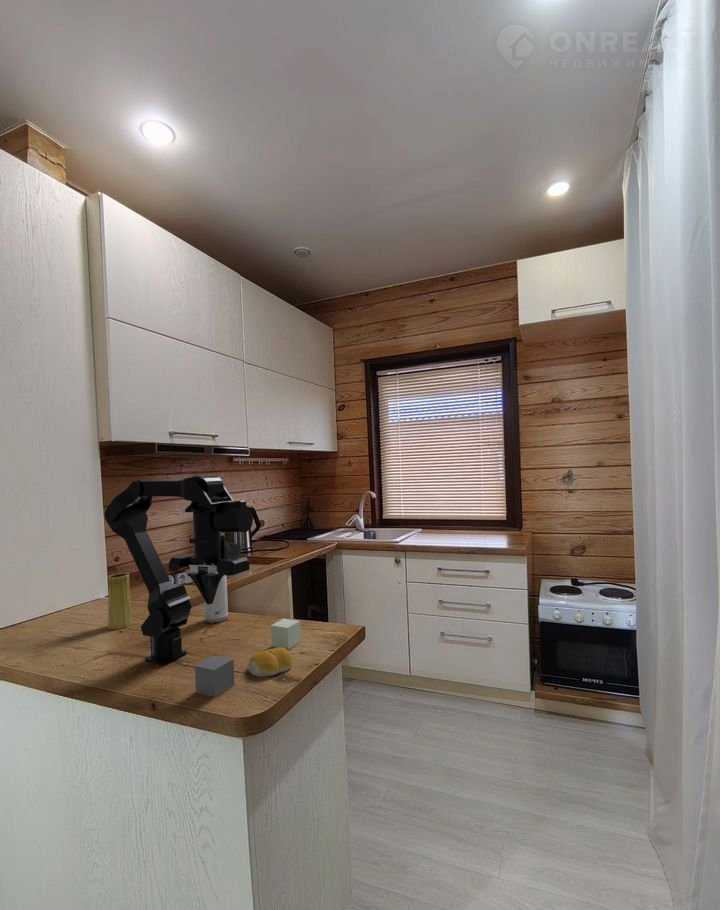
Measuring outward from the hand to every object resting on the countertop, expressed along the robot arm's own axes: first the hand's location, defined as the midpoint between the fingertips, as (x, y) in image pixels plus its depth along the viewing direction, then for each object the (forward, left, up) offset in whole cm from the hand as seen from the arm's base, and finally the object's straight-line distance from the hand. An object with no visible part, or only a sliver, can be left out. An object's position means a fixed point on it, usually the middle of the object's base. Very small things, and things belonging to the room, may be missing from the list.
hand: (209, 603), depth 96 cm
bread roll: (+14, +3, -13) cm, 19 cm away
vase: (-45, +10, -13) cm, 48 cm away
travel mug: (-21, +23, -13) cm, 34 cm away
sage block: (+9, +15, -13) cm, 22 cm away
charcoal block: (+9, -8, -13) cm, 18 cm away
